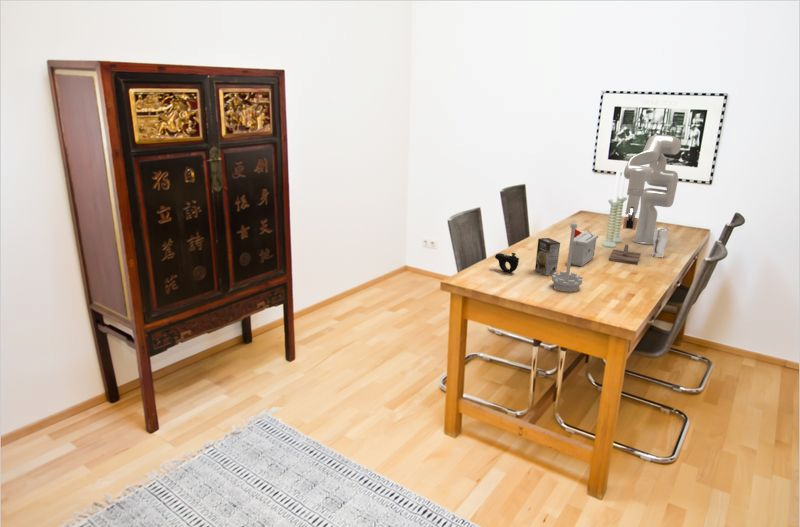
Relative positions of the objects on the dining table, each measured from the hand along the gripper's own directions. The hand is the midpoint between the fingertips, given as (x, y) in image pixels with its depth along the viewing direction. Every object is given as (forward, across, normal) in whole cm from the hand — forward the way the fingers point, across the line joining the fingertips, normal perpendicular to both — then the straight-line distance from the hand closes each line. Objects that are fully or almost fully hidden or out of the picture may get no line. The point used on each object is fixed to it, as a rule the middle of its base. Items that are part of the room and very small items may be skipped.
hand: (629, 226), depth 288 cm
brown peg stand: (+17, 0, 0) cm, 17 cm away
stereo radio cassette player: (+18, +18, -19) cm, 32 cm away
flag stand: (+18, +62, -18) cm, 67 cm away
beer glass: (+18, -14, +15) cm, 27 cm away
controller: (+18, +55, -48) cm, 75 cm away
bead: (+1, 0, 0) cm, 1 cm away
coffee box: (+18, +46, -31) cm, 58 cm away
